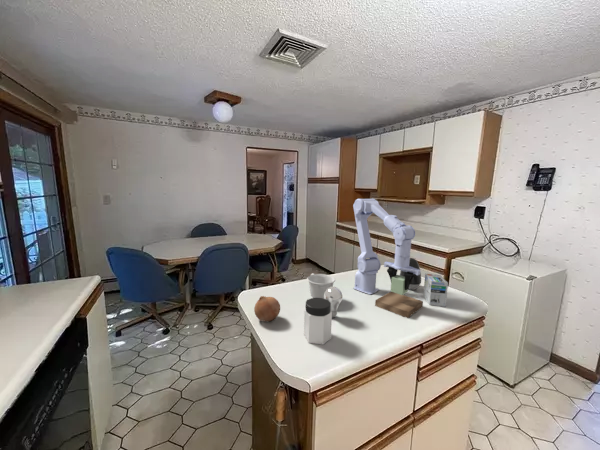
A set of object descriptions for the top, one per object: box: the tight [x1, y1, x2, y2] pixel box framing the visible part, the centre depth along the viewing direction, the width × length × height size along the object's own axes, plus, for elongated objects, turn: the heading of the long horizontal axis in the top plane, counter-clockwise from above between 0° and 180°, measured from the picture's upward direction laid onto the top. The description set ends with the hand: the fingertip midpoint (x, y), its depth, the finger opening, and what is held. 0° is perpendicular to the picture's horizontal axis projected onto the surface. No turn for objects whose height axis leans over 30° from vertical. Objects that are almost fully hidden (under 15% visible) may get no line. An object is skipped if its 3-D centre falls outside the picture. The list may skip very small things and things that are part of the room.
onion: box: [253, 295, 281, 323], centre depth 96 cm, size 10×9×10 cm
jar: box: [303, 297, 333, 345], centre depth 85 cm, size 9×8×12 cm
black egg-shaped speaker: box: [399, 257, 422, 291], centre depth 129 cm, size 10×10×15 cm
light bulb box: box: [423, 273, 449, 308], centre depth 115 cm, size 11×7×11 cm, turn 168°
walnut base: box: [374, 291, 424, 319], centre depth 109 cm, size 14×14×2 cm
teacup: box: [306, 273, 336, 299], centre depth 114 cm, size 12×15×10 cm
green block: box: [390, 274, 409, 295], centre depth 108 cm, size 5×5×6 cm
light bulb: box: [324, 286, 343, 319], centre depth 98 cm, size 7×7×12 cm
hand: (399, 287), depth 108 cm, fingers closed on green block, 5 cm apart
